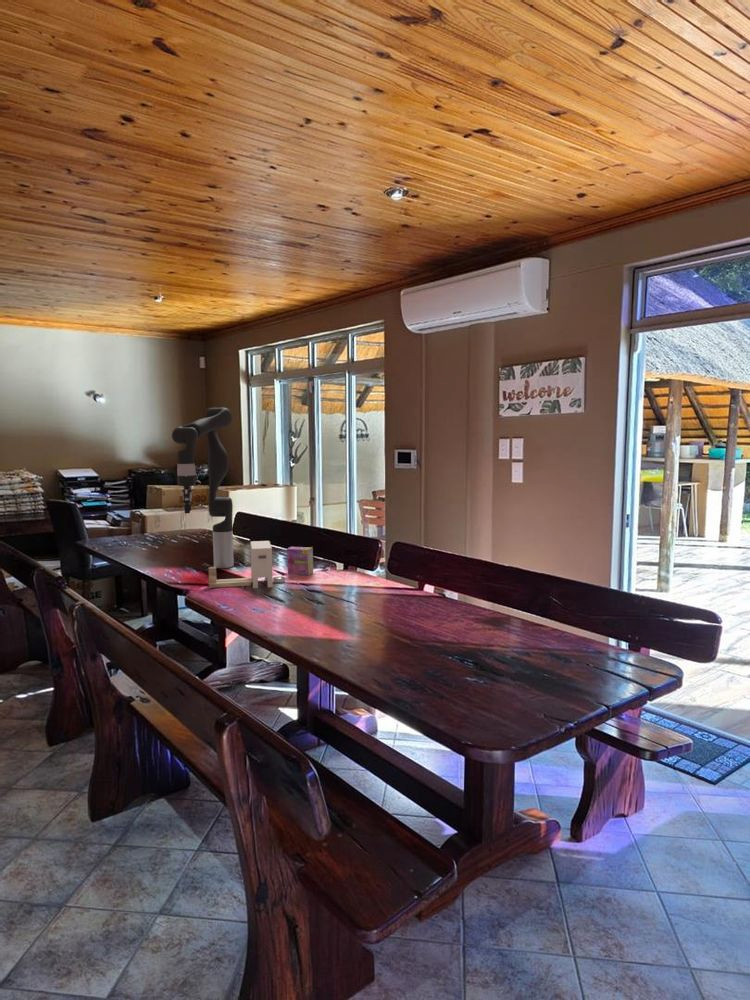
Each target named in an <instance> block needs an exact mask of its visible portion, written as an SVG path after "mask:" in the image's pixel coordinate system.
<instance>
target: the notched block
mask: <svg viewBox="0 0 750 1000" xmlns="http://www.w3.org/2000/svg"><path fill="white" fill-rule="evenodd" d="M271 545H272V544H271V541H270V540H259V541H258V540H256V541H255V540H253V541H250V569H251V570H250V572H251V573H250V574H251V575H250V576H251V577H250V579H251V581H252V589H258V588H259V578H265V580H267V584H266V585H267V588H268V589H269V588H273V587H274V586H273V585H274V584H273V578H274V576H273V548H272V546H271Z"/></svg>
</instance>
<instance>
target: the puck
mask: <svg viewBox="0 0 750 1000" xmlns="http://www.w3.org/2000/svg"><path fill="white" fill-rule="evenodd" d="M285 582H286V577H285V576H279V575H278V576H275V577H274V576H273V583H274V584H283V583H285Z"/></svg>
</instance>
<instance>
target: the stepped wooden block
mask: <svg viewBox="0 0 750 1000" xmlns="http://www.w3.org/2000/svg"><path fill="white" fill-rule="evenodd" d="M251 581H252V579H251V577H241V578H225V579H223V578H222V579H217V568H216V567H214V566H209V567H208V588H209V589H212V588H213V589H214V588H215V589H217V588H230V587H232V588H233V587H245V586H246V587H248V586H249V587H250V586H252V582H251Z"/></svg>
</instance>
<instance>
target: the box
mask: <svg viewBox="0 0 750 1000" xmlns="http://www.w3.org/2000/svg"><path fill="white" fill-rule="evenodd" d="M286 557H287V558H286V560H287V563H286V564H287V575H299V576H301V575H302V576H310V575H311V574H313V573H314V550H313V547H310V546H309V547H308V546H307V547H305V546H304V547H303V546H290V547H288V548H286Z"/></svg>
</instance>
